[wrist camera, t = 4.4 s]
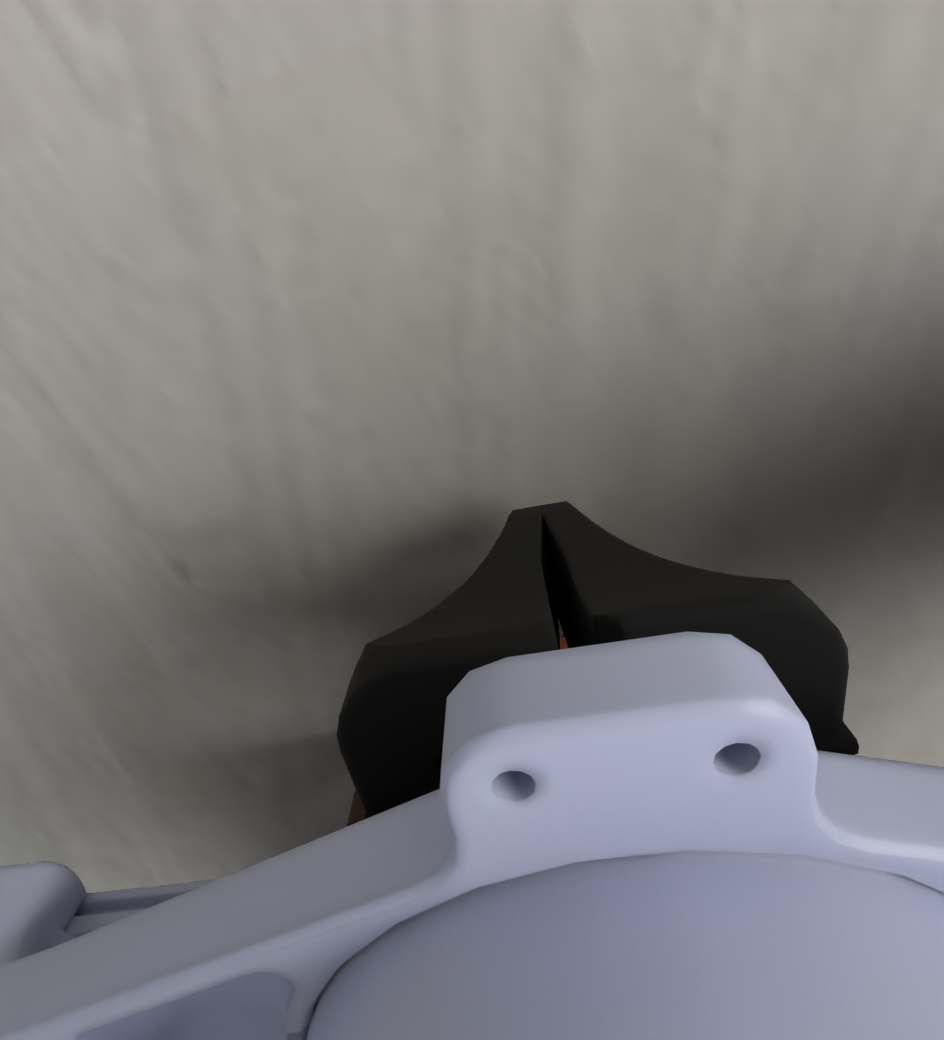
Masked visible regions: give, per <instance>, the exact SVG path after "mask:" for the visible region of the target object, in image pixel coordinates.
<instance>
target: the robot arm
mask: <svg viewBox="0 0 944 1040" xmlns="http://www.w3.org/2000/svg"><path fill="white" fill-rule="evenodd" d="M558 618H559V621H560V624H561V627H562V630H563V633H564V636H565V639H566V642H567V645H568V649H561V650H560V638H559V624H558ZM848 670H849V664H848V648H847V646H846V644H845V641H844V639H843V637H842V635H841V633H840V631H839V629H838V628H837V627H836V626H835V625H834V624H833V623H832V622H831V621H830V620H829V618H828V617H827V616H826V615H825V614H824V613H823V612H822V611H821V610H820V608H819V607H818V606H817V605H816V604H815V603H814V602H813V601H812V600H811V599H810V598H809V597H808V596H807V595H806V594H804V593H803V592H802V591H801V590H800V589H799V588H798V587H797V586H796V585H794V584H793V583H792V582H791V581H790V580H781V579H769V578H756V577H744V576H736V575H730V574H724V573H718V572H712V571H707V570H703V569H698V568H694V567H690V566H687V565H683V564H680V563H676V562H673V561H669V560H666V559H663V558H661V557H658V556H655V555H653V554H650V553H648V552H646V551H643V550H641V549H638V548H636V547H634V546H632V545H630V544H628V543H626V542H624V541H622V540H621V539H619V538H617V537H615V536H613V535H612V534H610V533H608V532H607V531H605V530H604V529H602V528H601V527H599V526H598V525H596V524H595V523H594V522H592V521H591V520H590V519H588V518H587V517H586V516H584V515H583V514H582V513H581V512H579V511H578V510H577V509H576V508H575V507H573V506H572V505H571V504H569V503H568V502H567V501H564V502H558V503H553V504H547V505H541V506H535V507H529V508H523V509H517V510H513V511H512V512H511V513H510V515H509V517H508V519H507V522H506V524H505V526H504V528H503V530H502V532H501V534H500V536H499V537H498V539H497V541H496V543H495V544H494V546H493V548H492V549H491V551H490V552H489V554H488V555H487V557H486V558H485V559H484V561H483V562H482V563H481V565H480V566H479V568H478V569H477V570H476V571H475V573H474V574H473V575H472V576H471V577H470V578H469V579H468V580H467V581H466V582H465V583H464V584H463V585H462V586H461V587H460V588H459V589H457V590H456V591H455V592H454V593H453V594H451V595H450V596H449V597H448V598H446V599H445V600H444V601H443V602H441V603H440V604H439V605H438V606H436V607H435V608H433V609H432V610H430V611H429V612H427V613H426V614H424V615H423V616H421V617H419V618H418V619H416V620H414V621H413V622H411V623H409V624H407V625H406V626H404V627H402V628H400V629H398V630H396V631H393V632H391V633H389V634H387V635H385V636H383V637H381V638H378V639H376V640H374V641H372V642H369V643H367V644H366V645H365V648H364V650H363V652H362V655H361V657H360V659H359V661H358V663H357V665H356V667H355V670H354V672H353V675H352V677H351V680H350V683H349V686H348V690H347V693H346V696H345V699H344V703H343V706H342V709H341V712H340V715H339V722H338V729H337V738H338V742H339V746H340V751H341V754H342V757H343V759H344V761H345V764H346V766H347V769H348V771H349V774H350V776H351V778H352V781H353V783H354V786H355V788H356V791H357V793H358V795H359V798H360V800H361V803H362V805H363V808H364V810H365V816H364V820H362V821H360V822H357V823H355V824H352V825H350V826H347V827H345V828H343V829H340V830H338V831H335V832H333V833H330V834H328V835H326V836H323V837H321V838H318V839H316V840H313V841H311V842H308V843H306V844H304V845H301V846H299V847H296V848H294V849H291V850H289V851H286V852H284V853H282V854H279V855H277V856H274V857H272V858H269V859H267V860H265V861H262V862H260V863H257V864H255V865H252V866H250V867H247V868H245V869H243V870H240V871H238V872H235V873H233V874H230V875H228V876H226V877H223V878H221V879H215V880H206V881H197V882H188V883H178V884H169V885H160V886H151V887H142V888H132V889H123V890H114V891H105V892H96V893H86V890H85V888H84V886H83V884H82V882H81V881H80V879H79V878H78V876H77V875H76V874H75V873H74V872H73V871H72V870H71V869H69V868H68V867H67V866H65V865H62V864H59V863H57V862H46V861H43V862H34V863H26V864H17V865H8V866H0V1040H944V767H939V766H931V765H924V764H916V763H908V762H901V761H893V760H886V759H878V758H871V757H863V756H856V755H855V754H858V750H859V745H858V742H857V739H856V738H855V737H854V735H853V734H852V733H851V731H850V730H849V729H848V727H847V726H846V725H845V724H844V722H843V712H844V704H845V695H846V687H847V678H848Z"/></svg>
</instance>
